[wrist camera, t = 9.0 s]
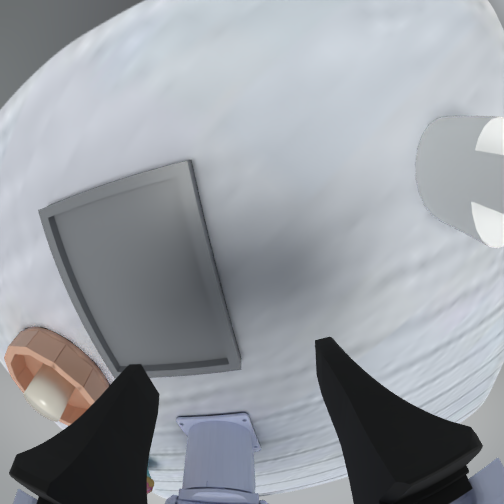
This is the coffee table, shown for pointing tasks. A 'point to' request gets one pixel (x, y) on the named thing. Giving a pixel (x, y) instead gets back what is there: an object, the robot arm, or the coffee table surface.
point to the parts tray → (144, 274)
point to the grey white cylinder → (464, 175)
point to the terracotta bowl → (56, 367)
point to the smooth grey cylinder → (49, 393)
